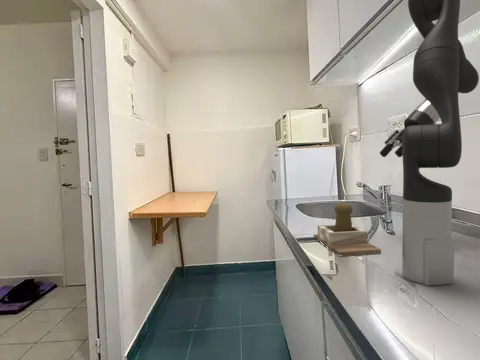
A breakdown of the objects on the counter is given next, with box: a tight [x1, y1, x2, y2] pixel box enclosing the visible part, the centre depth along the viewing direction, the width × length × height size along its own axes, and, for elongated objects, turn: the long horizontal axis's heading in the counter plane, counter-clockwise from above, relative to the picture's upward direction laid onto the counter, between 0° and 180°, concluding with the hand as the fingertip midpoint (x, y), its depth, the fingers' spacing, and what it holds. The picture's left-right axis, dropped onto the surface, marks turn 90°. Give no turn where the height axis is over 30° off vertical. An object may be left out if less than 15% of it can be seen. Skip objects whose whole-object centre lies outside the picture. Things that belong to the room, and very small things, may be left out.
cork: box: [334, 202, 353, 232], centre depth 102 cm, size 6×6×11 cm
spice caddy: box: [313, 224, 382, 257], centre depth 100 cm, size 20×12×5 cm, turn 7°
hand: (389, 155), depth 104 cm, fingers open, 8 cm apart
